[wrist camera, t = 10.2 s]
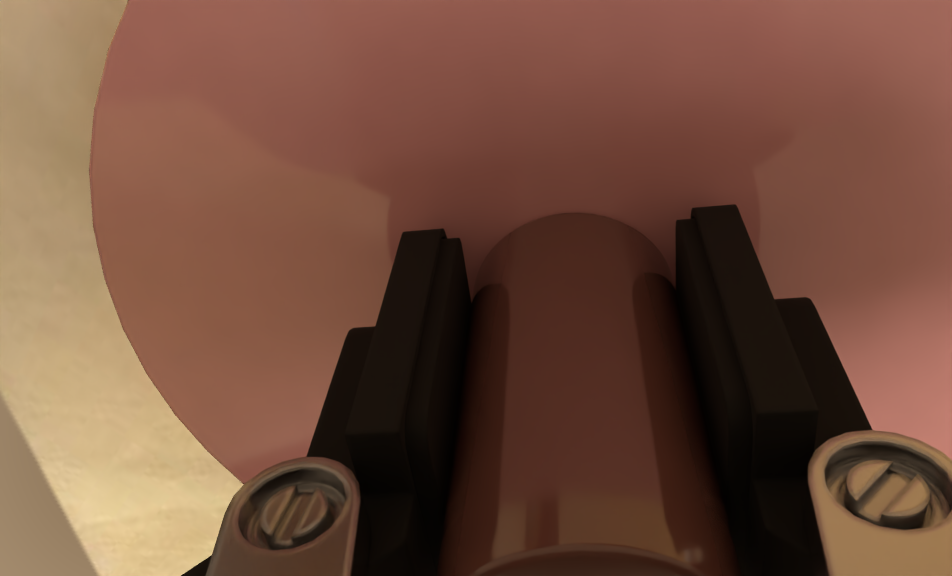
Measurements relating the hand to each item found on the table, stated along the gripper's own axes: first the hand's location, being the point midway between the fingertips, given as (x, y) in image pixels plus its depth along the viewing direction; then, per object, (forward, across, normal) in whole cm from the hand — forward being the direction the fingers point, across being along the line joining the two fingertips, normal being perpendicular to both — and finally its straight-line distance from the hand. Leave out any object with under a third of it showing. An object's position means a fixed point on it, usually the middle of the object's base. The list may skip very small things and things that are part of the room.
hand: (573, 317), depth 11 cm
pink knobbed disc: (+1, 0, 0) cm, 1 cm away
